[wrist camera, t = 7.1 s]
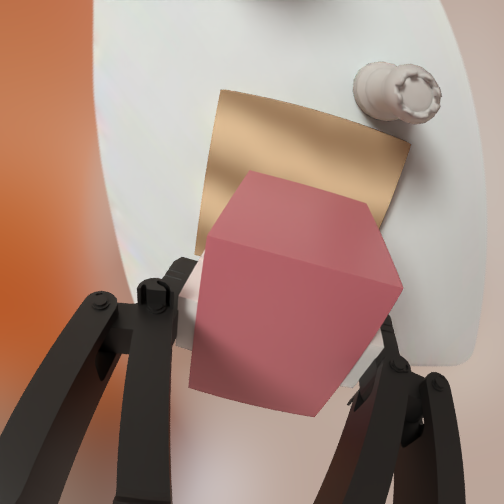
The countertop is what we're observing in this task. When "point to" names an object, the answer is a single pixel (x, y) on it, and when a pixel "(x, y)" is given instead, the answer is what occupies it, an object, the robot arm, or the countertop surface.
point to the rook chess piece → (397, 92)
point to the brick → (288, 295)
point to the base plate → (296, 154)
